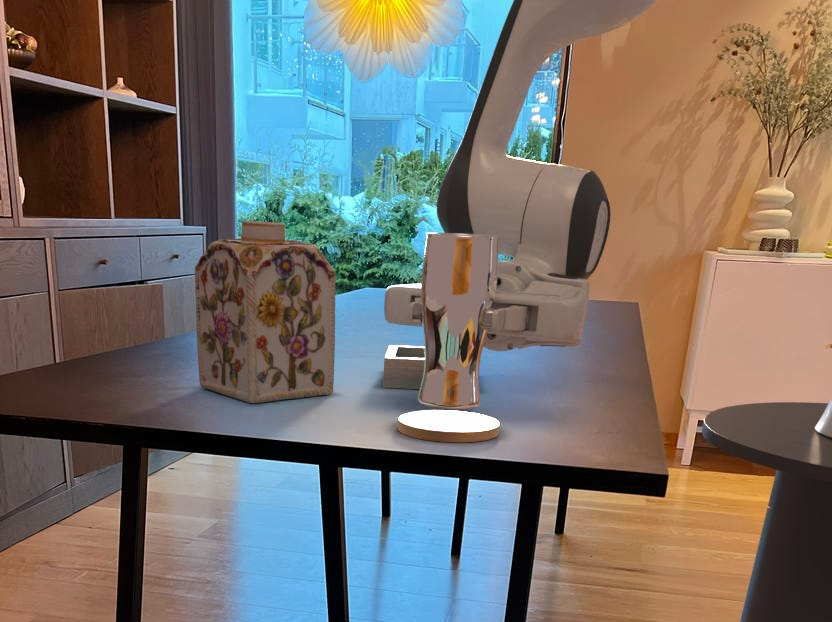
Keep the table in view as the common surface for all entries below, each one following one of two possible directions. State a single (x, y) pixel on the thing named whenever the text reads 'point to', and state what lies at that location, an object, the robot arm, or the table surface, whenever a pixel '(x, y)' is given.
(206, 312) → the decorative jar
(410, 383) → the box
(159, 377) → the table surface
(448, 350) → the beer glass
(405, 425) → the disc
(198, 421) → the table surface
